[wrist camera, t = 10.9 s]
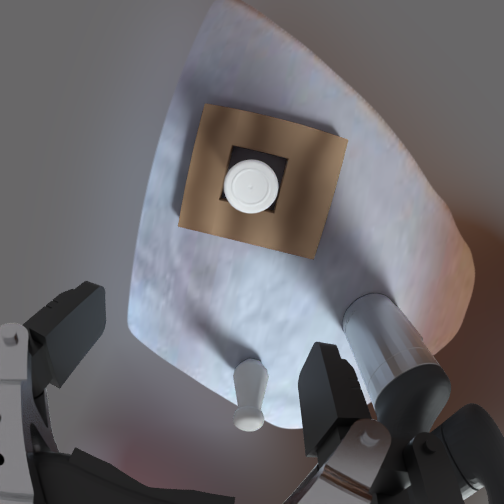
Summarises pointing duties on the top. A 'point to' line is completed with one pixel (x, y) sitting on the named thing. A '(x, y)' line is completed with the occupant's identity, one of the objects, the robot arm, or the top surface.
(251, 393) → the salt shaker
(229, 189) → the sprinkles bottle
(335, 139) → the holder board
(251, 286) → the top surface
